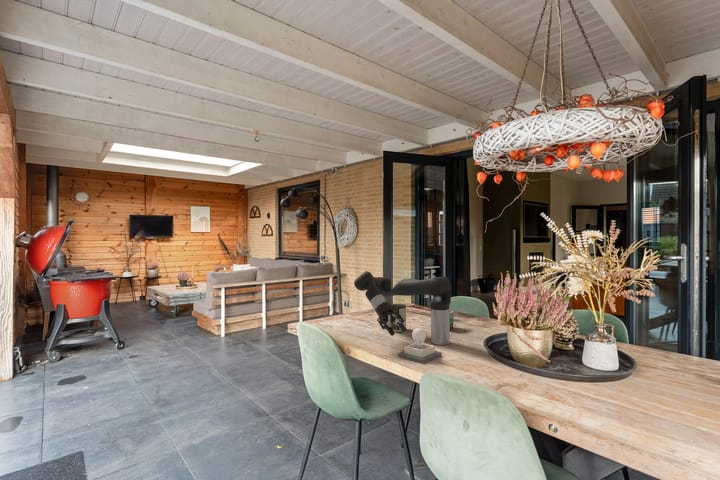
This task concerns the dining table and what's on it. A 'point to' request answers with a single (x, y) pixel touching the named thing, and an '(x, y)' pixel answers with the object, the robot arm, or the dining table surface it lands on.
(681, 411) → the dining table surface
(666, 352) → the dining table surface
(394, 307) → the coffee can
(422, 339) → the lightbulb
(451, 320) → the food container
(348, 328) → the dining table surface
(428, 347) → the socket stand
